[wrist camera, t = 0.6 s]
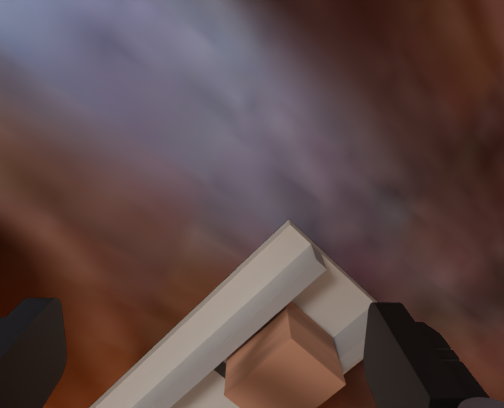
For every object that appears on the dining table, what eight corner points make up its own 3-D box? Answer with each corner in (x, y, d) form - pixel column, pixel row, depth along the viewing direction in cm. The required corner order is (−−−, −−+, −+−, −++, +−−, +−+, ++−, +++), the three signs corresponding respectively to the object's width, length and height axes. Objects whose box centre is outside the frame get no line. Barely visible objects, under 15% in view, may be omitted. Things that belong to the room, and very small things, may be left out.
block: (284, 295, 31) (291, 338, 26) (331, 336, 32) (346, 384, 27) (227, 346, 32) (223, 395, 27) (274, 384, 33) (279, 437, 29)
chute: (288, 219, 31) (295, 248, 26) (397, 320, 33) (421, 363, 28) (69, 426, 36) (41, 481, 32) (176, 498, 39) (166, 559, 34)
